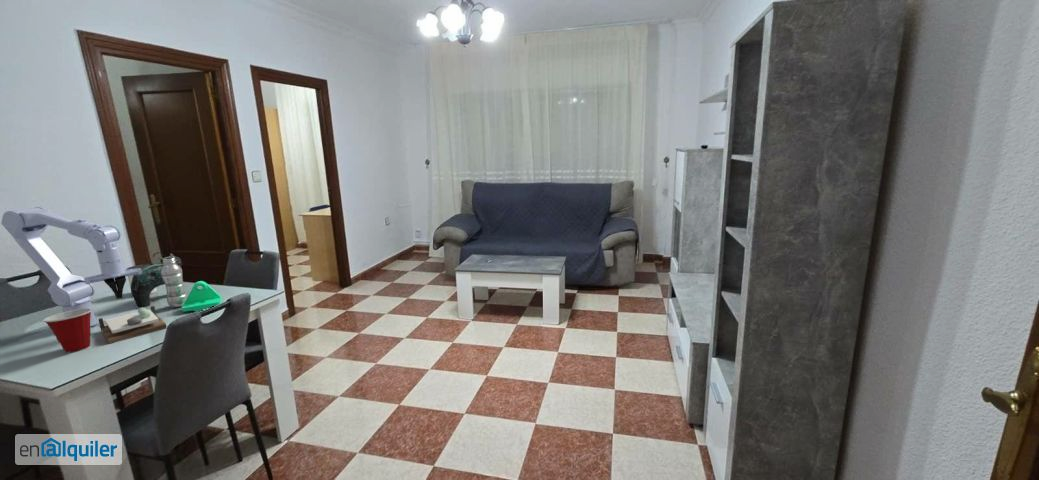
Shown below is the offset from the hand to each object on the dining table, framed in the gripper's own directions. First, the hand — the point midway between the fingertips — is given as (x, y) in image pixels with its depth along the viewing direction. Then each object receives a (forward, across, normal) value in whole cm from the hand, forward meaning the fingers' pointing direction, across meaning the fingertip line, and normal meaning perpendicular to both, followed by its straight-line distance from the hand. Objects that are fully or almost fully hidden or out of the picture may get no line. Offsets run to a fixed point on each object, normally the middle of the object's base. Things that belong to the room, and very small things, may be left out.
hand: (119, 297), depth 149 cm
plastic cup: (+11, -13, -11) cm, 20 cm away
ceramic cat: (+11, +15, +22) cm, 29 cm away
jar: (+11, +12, +39) cm, 42 cm away
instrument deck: (+7, +1, -7) cm, 11 cm away
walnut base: (+10, +1, -8) cm, 13 cm away
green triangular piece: (+11, +22, -3) cm, 25 cm away
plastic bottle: (+11, +17, +7) cm, 21 cm away
